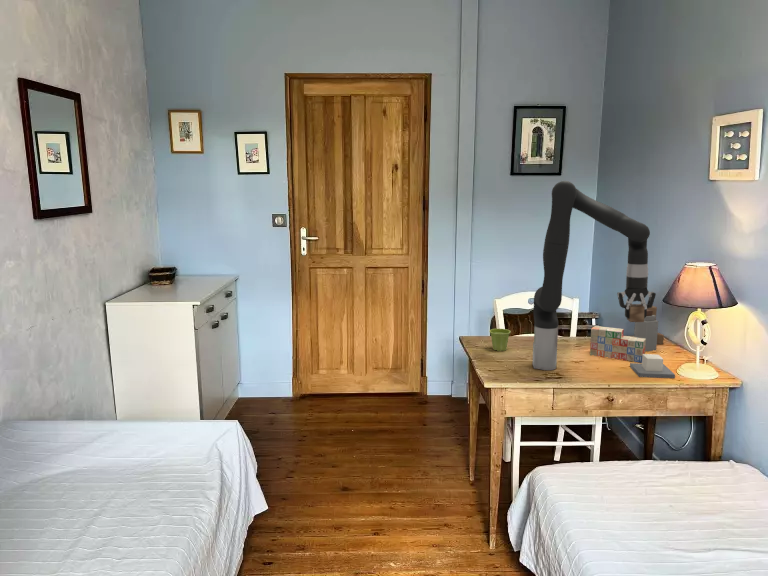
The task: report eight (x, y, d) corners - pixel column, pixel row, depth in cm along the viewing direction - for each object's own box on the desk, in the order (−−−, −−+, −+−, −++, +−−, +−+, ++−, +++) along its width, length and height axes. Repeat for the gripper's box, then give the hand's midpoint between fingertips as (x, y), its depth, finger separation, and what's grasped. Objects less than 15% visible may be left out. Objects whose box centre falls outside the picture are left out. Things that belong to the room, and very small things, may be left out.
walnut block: (630, 322, 219) (630, 306, 218) (626, 319, 224) (627, 304, 223) (643, 322, 219) (644, 306, 218) (640, 319, 223) (640, 304, 222)
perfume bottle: (633, 347, 260) (635, 309, 256) (644, 346, 262) (647, 308, 259) (644, 351, 253) (647, 312, 250) (656, 350, 256) (659, 311, 253)
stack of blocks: (644, 359, 243) (646, 331, 240) (641, 363, 237) (643, 334, 235) (593, 351, 254) (594, 325, 252) (589, 355, 249) (590, 328, 247)
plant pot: (505, 353, 253) (506, 334, 252) (485, 350, 258) (486, 332, 256) (512, 348, 261) (513, 330, 259) (493, 345, 266) (493, 327, 264)
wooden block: (658, 341, 269) (660, 304, 266) (663, 344, 265) (666, 306, 262) (639, 342, 268) (642, 305, 265) (645, 345, 264) (647, 307, 261)
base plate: (639, 377, 220) (640, 360, 219) (629, 366, 233) (630, 351, 232) (674, 378, 218) (676, 362, 217) (663, 367, 231) (664, 352, 230)
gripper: (653, 273, 221) (651, 316, 224) (615, 273, 223) (613, 316, 226) (660, 276, 214) (658, 320, 216) (619, 277, 216) (618, 320, 219)
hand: (635, 318), depth 221 cm, fingers closed on walnut block, 5 cm apart
